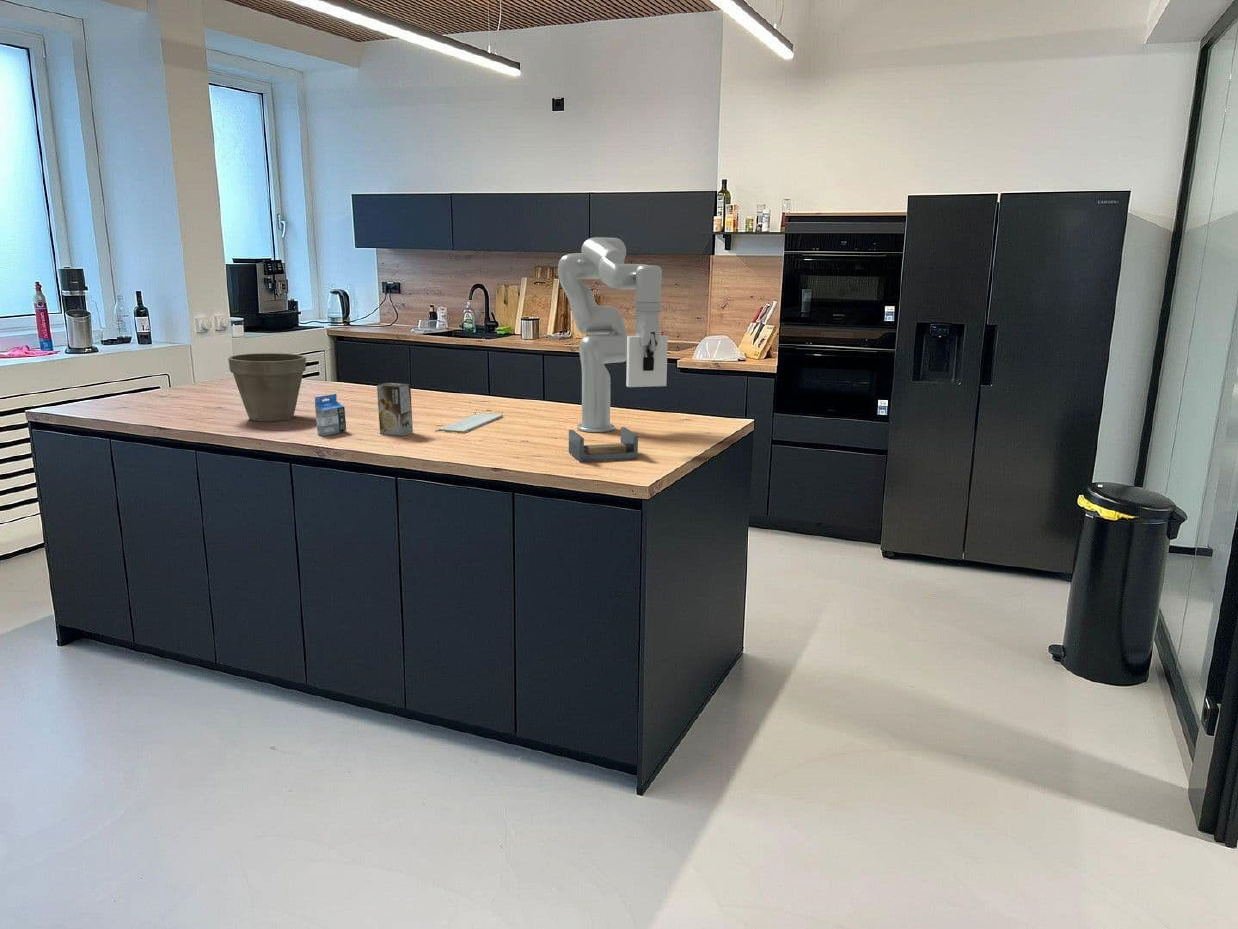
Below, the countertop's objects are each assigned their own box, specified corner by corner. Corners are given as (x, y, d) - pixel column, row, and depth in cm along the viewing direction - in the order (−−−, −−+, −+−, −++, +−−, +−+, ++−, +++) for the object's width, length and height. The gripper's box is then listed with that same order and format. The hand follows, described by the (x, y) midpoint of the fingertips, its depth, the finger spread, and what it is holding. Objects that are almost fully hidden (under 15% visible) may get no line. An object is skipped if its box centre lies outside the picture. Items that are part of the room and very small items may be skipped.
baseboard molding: (431, 432, 287) (463, 435, 284) (430, 424, 286) (463, 426, 283) (472, 416, 316) (503, 418, 313) (472, 408, 315) (503, 410, 312)
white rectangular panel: (626, 385, 262) (627, 336, 259) (663, 384, 266) (665, 335, 262) (628, 387, 260) (629, 336, 256) (666, 385, 263) (667, 336, 260)
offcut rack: (568, 452, 258) (568, 429, 256) (624, 449, 263) (624, 427, 262) (579, 462, 247) (579, 438, 245) (637, 459, 252) (638, 435, 250)
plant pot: (323, 413, 314) (319, 353, 309) (286, 426, 291) (281, 361, 286) (260, 410, 319) (254, 351, 313) (218, 422, 295) (212, 359, 290)
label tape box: (325, 436, 276) (322, 398, 273) (316, 434, 278) (314, 397, 275) (346, 431, 284) (344, 394, 281) (338, 430, 286) (335, 393, 283)
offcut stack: (579, 458, 253) (580, 445, 252) (622, 456, 257) (622, 442, 256) (583, 462, 249) (583, 448, 248) (627, 459, 253) (627, 446, 252)
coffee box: (414, 432, 284) (411, 383, 280) (402, 436, 278) (400, 386, 274) (390, 430, 287) (388, 382, 283) (378, 433, 281) (375, 384, 277)
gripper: (628, 306, 264) (627, 366, 268) (644, 309, 249) (643, 373, 253) (651, 306, 266) (650, 366, 270) (669, 309, 251) (667, 373, 255)
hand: (646, 369), depth 262 cm, fingers closed on white rectangular panel, 2 cm apart
